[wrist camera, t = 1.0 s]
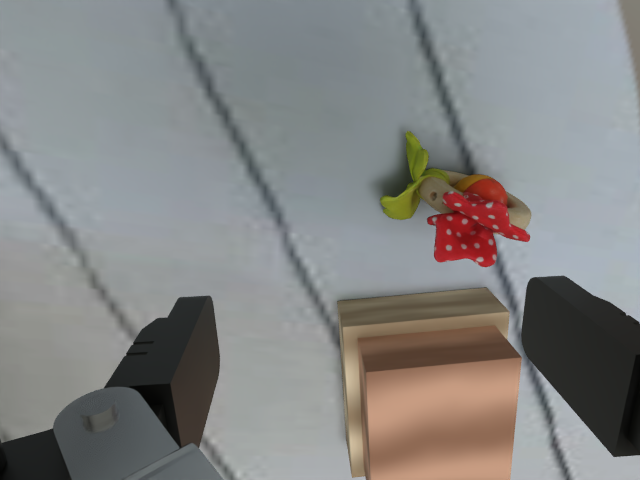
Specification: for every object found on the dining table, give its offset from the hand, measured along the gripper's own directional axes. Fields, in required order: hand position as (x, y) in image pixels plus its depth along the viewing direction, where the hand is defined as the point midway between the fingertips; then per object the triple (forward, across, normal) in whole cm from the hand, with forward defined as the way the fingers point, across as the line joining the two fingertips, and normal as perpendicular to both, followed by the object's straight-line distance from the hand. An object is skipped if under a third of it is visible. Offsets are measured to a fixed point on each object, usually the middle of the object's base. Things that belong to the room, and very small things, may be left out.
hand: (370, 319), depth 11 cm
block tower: (+22, -7, +17) cm, 29 cm away
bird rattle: (+22, -8, +1) cm, 24 cm away
